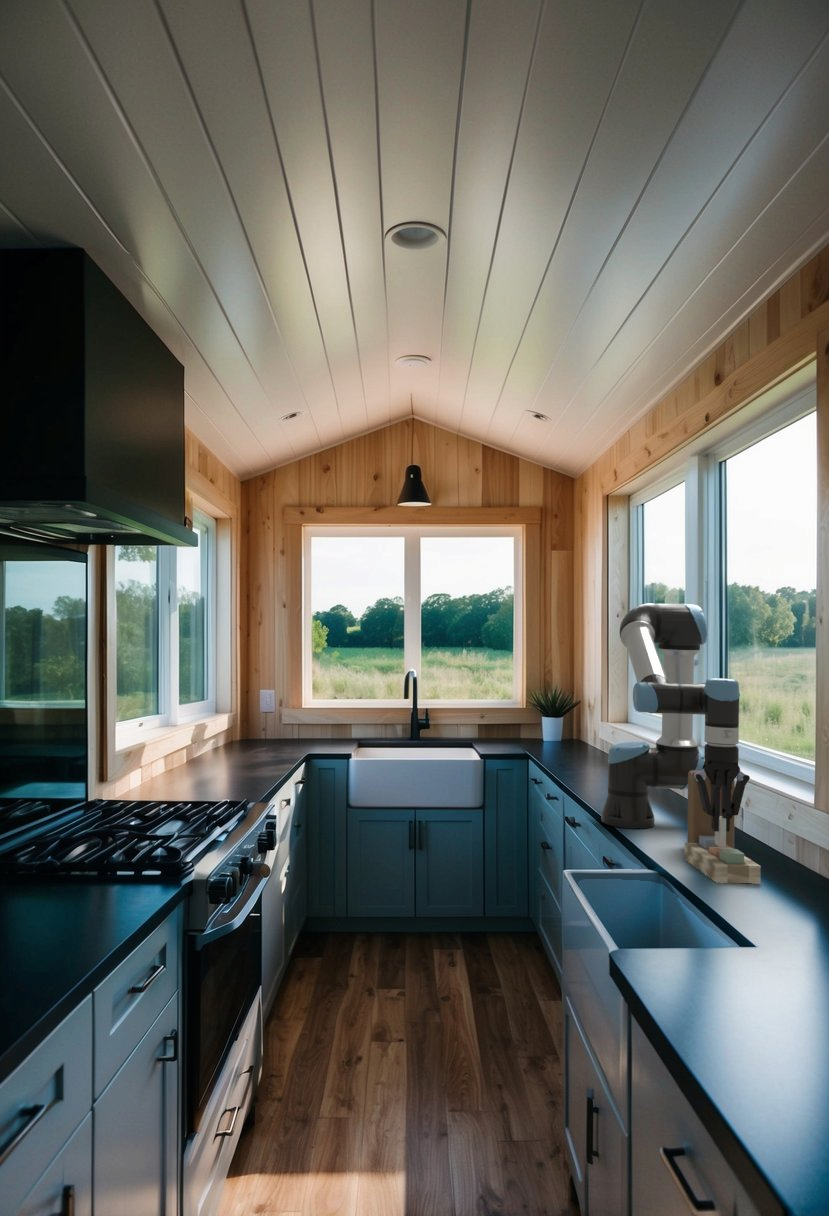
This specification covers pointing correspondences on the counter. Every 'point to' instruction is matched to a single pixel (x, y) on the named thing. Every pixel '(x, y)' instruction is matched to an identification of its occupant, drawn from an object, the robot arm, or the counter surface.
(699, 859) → the wooden slotted tray
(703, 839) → the grey small cube
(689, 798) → the block
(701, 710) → the robot arm
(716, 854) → the terracotta button
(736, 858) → the green button
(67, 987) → the counter surface
